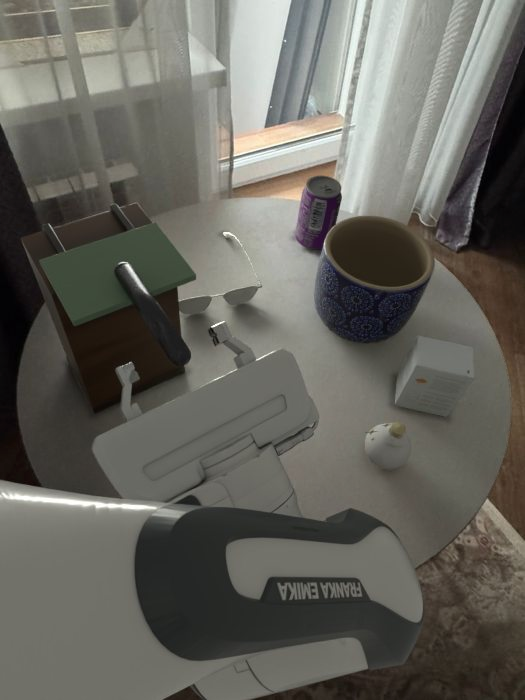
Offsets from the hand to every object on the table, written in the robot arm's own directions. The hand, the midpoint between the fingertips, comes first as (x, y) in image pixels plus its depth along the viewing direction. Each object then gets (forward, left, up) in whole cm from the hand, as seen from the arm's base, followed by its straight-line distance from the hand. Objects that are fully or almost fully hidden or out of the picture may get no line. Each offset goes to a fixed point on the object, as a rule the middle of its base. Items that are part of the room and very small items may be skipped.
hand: (171, 344), depth 46 cm
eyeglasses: (+28, +23, -26) cm, 45 cm away
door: (+2, +7, -1) cm, 7 cm away
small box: (+31, -19, -26) cm, 45 cm away
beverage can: (+49, +14, -26) cm, 57 cm away
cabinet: (+6, +17, -26) cm, 32 cm away
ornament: (+18, -19, -26) cm, 37 cm away
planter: (+38, -3, -26) cm, 46 cm away
